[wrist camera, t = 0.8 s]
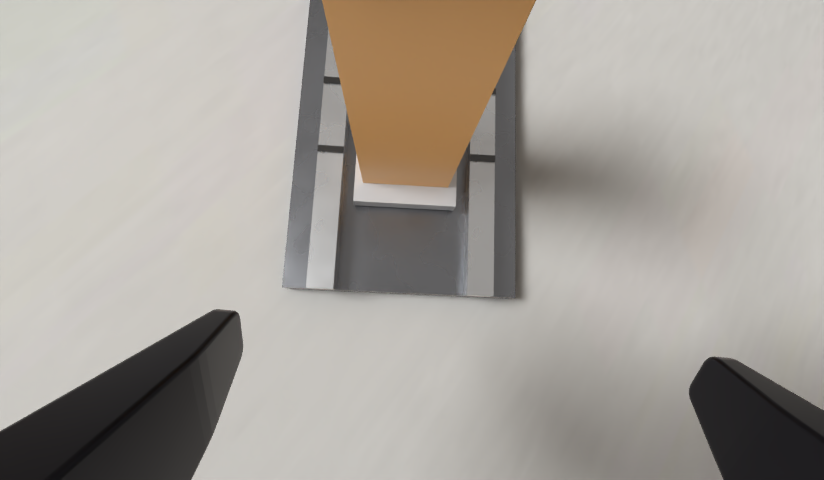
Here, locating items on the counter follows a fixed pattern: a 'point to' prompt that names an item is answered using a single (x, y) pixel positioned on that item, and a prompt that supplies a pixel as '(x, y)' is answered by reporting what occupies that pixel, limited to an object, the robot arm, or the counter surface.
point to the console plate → (388, 226)
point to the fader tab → (418, 89)
